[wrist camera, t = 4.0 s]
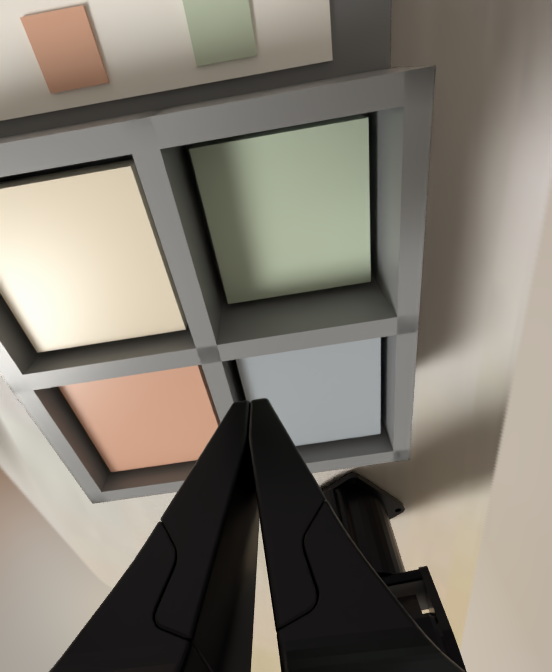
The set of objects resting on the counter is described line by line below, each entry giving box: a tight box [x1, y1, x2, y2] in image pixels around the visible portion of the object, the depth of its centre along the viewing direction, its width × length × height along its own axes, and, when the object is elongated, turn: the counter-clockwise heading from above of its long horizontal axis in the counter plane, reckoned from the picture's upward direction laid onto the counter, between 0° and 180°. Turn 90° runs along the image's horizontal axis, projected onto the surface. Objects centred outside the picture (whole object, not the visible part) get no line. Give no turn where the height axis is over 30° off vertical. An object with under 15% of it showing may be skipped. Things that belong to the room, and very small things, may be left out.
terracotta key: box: [58, 365, 220, 472], centre depth 18 cm, size 6×6×2 cm
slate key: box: [236, 337, 381, 446], centre depth 18 cm, size 6×6×2 cm
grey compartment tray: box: [0, 0, 436, 504], centre depth 16 cm, size 20×16×6 cm
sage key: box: [189, 114, 371, 304], centre depth 15 cm, size 6×6×2 cm
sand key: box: [0, 159, 187, 353], centre depth 14 cm, size 6×6×2 cm
